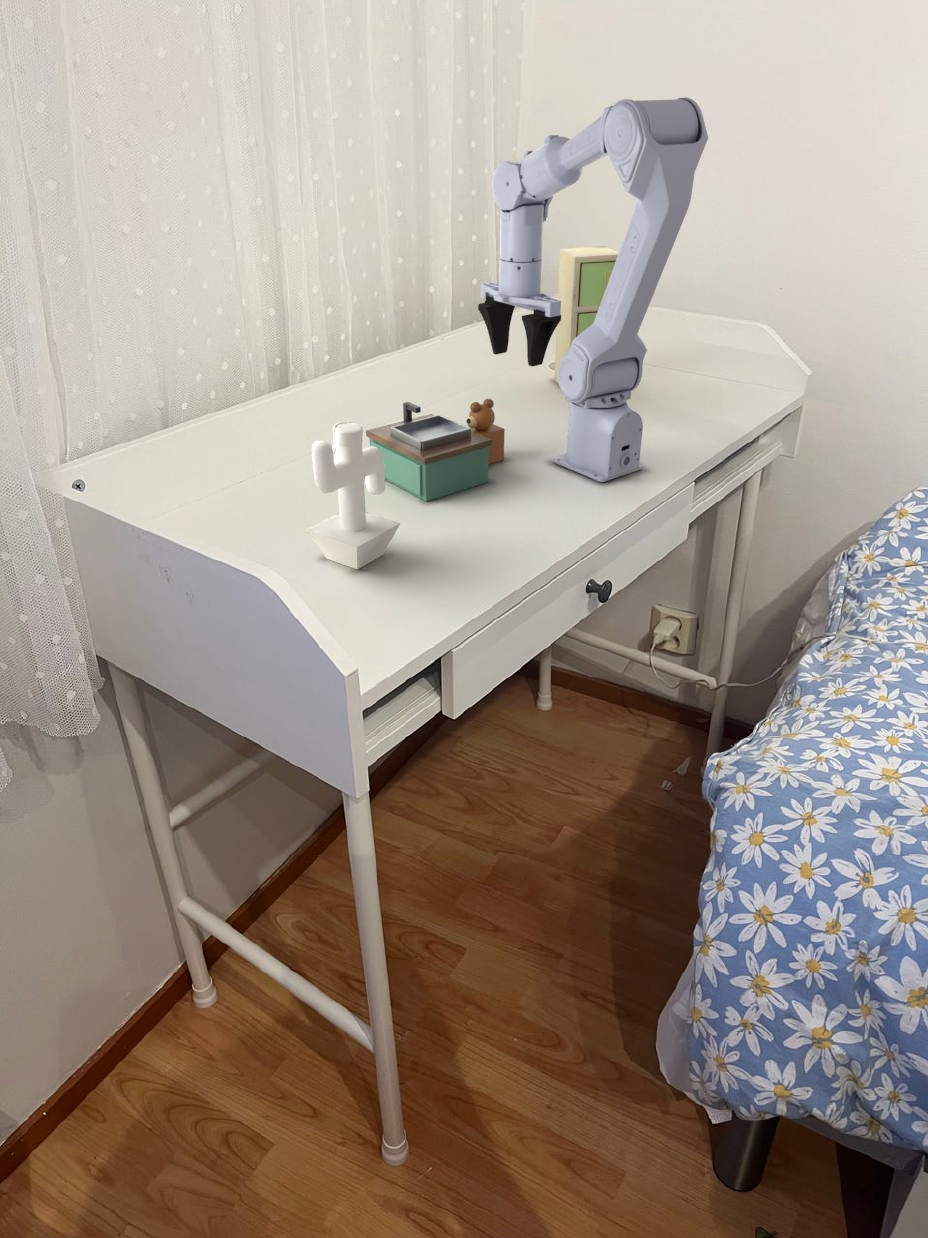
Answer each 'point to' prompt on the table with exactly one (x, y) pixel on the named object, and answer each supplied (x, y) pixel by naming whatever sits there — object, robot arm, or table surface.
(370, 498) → the table surface
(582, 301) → the toy refrigerator
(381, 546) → the figurine
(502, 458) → the toy bear
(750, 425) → the table surface
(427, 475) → the toy sink
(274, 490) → the table surface
